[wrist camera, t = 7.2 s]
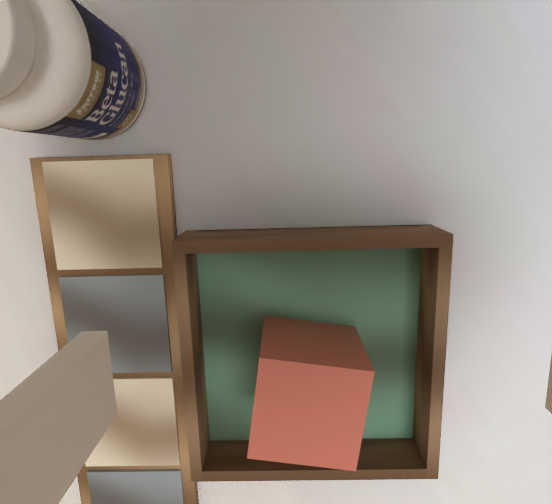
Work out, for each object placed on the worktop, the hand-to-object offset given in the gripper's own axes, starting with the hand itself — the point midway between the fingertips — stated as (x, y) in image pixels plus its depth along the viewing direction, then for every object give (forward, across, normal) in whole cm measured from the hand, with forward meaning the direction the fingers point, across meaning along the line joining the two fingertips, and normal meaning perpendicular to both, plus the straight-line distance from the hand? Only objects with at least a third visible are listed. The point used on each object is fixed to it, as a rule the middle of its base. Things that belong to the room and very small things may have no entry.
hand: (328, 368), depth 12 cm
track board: (+11, -10, -6) cm, 16 cm away
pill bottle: (+11, -10, +10) cm, 18 cm away
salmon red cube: (+8, 0, -3) cm, 8 cm away
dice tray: (+11, 0, -4) cm, 11 cm away
